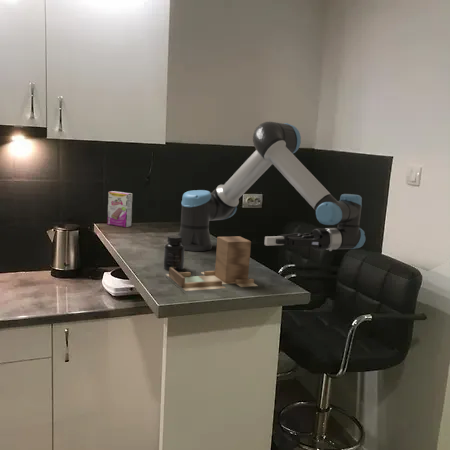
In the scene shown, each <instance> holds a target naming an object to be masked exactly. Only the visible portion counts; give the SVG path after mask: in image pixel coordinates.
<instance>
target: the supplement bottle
mask: <svg viewBox="0 0 450 450" xmlns="http://www.w3.org/2000/svg"><path fill="white" fill-rule="evenodd" d="M181 243H182V237H181V236H178V234H177V235H176V234H174V235H173V234H171V235H168V236H167V243H165V245H164V247H163V248H164V249H163V269H164V270H165V271H169V268H170V267H172V268H173V269H174V270H176V271H177V272H182V271H183V270H184V268H185V253H186V252H185V251H186V250H185V247H184V245H183V244H181Z"/></svg>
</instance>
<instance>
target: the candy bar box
mask: <svg viewBox="0 0 450 450" xmlns="http://www.w3.org/2000/svg"><path fill="white" fill-rule="evenodd" d="M133 195H134V194H133V193H131V192H124V191H117V190H114V191H113V190H111V191H108V193H107V218H106V220H107V221H106V224H107V225H109V226H114V227H115V226H116V227H122V228H130V227H132V217H133V197H134V196H133Z"/></svg>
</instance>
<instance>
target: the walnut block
mask: <svg viewBox="0 0 450 450" xmlns="http://www.w3.org/2000/svg"><path fill="white" fill-rule="evenodd" d="M216 239H217V240H216V251H215V252H216V254H215V267H214V271H215V276H216V277H217V278H219V279H220V280H222V281H223V282H225V283H231V282H235V280H236V279H249V271H250V261H251V260H250V259H251V247H252V246H251V245H252V241H251V240H249V239H247V238H244V237H242V236H240V235H239V236H235V235H234V236H233V235H232V236H217V238H216Z"/></svg>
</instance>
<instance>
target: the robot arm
mask: <svg viewBox="0 0 450 450" xmlns="http://www.w3.org/2000/svg"><path fill="white" fill-rule="evenodd" d="M301 142H302V136H301V133H300V131H299V129H298V128H297V127H296V126H295V125H292V124H290V123H285V122H284V123H282V122H276V121H265V122H262V123H260V124H259V125H258V126H257V127H256V128H255V129H254V131H253V135H252V143H253V146H254V148H255V151H253V153H252V154H251V155H250V156H249V157H247V159H246V160H245V161H244V162H243V164H241V166H239V168H238V169H237V170H236V171H235V172H234V173H233V175H232V176H230V178H229V179H228V180H227V181H225V183H224V184H219V185H217V187H216V188H215V189H214V190H212V192H211V191H209V190H205V189H197V190H195V189H194V190H188V191H186V192H184V193H183V194H182V198H181V199H182V200H181V210H180V211H181V212H180V229H179V232H178V234H177V235H178V236H181V237H182V243H181V244H183V245H184V247H185V251H191V252H204V251H209V250H212V247H213V242H212V240H211V235H210V234H211V233H210V230H209V229H210V221H224V220H227V219H229V218H231V217H233V216H234V215H235V214H236V213H237V210H238V208H237V207H238V205H239V203H240V200H239V199H240V198H241V197H242V196H243V195H244V194H245V193H246V192H247V191H248V190H249V189H250V188H251V187H252V186H253V185H254V184H255V183H256V181H258V179H260V177H262V175H264V174H265V172H266V171H268V169H269V168H270V167H272V166H274V168H275V169H277V171H279V173H281V175H282V176H283V177H284V178H285V179H286V180H287V181H288V182H289V184H290V185H291V186H292V187H294V189H295V190H296V192H298V193H299V194H300V196H301V197H302V198H303V199H304V200H305V201H306V202H307V204H309V205H310V206H311V207H312V208H313V210H315V217H316V219H317V221H318V222H319V224H322V225H325V226H335V225H337V227H325V228H324V227H323V228H320V227H318V228H314V229H312V231H311V232H304V233H300V232H294V233H288V234H287V233H286V234H280V235H277V236H275V235H273V236H264V246H267V247H268V246H269V247H270V246H281V247H282V246H284V245H285V246H289V247H291V248H292V247H304V248H305V247H311V248H312V249H313V250H315V251H326V250H327V251H329V252H332V251H333V250H355V249H360V248H361V247H363V246H364V244H365V242H366V235H365V234H366V233H365V231H364V230H363V229H362V228H361V227H360V222H361V214H362V207H363V205H362V203H363V202H362V200H363V198H362V196H361V195H359V194H354V193H352V194H351V193H343V194H341V195H340V197H339V200H337V199H336V198H335V197H334V196H333V195H332V194H331V193H330V191H328V189H326V187H325V186H324V185H323V184H322V183H321V181H319V180H318V179H317V178H316V177H315V176H314V174H312V172H311V171H310V170H309V169H307V167H306V166H305V165H304V164H303V163H302V162H301V161H300V160H299V159H298V158H297V157H296V155H295V153H297V151H298V150H299V148H300V146H301V144H302V143H301Z"/></svg>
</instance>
